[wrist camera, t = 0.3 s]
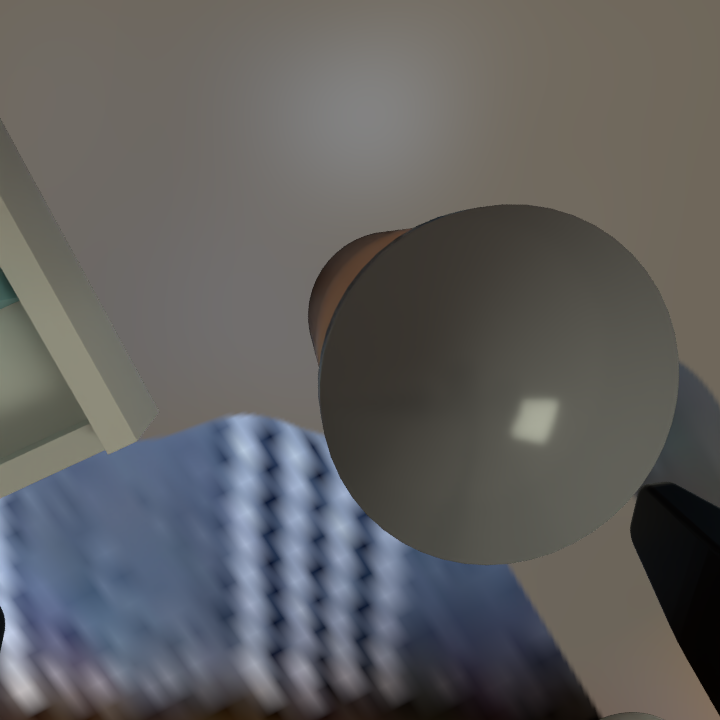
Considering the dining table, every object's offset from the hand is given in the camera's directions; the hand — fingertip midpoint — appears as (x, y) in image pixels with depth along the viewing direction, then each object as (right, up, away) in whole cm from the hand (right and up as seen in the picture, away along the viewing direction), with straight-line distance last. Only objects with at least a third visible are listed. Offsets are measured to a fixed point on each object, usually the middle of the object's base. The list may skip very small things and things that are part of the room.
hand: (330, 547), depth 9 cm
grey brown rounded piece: (+2, +4, +15) cm, 15 cm away
